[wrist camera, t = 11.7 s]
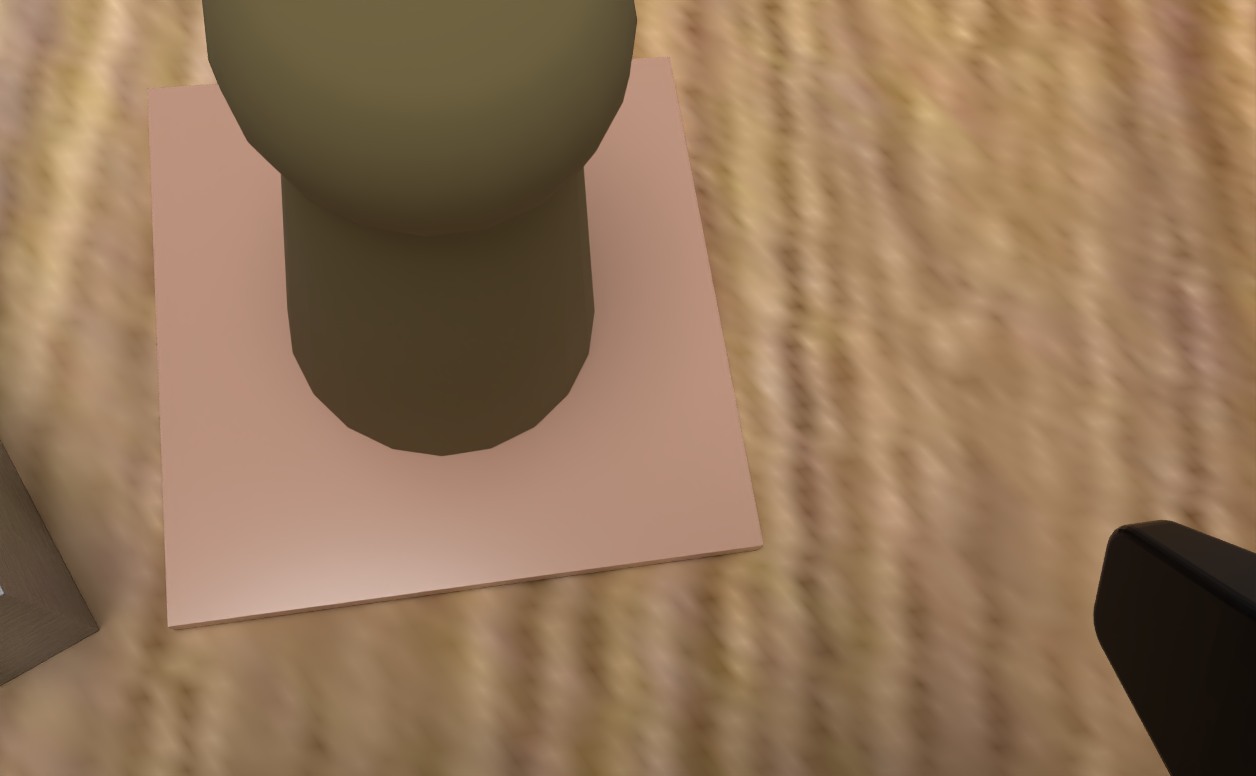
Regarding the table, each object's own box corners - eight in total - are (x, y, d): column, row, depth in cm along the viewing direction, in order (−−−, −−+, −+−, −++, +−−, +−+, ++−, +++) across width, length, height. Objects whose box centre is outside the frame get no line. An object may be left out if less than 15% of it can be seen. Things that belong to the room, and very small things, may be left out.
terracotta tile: (757, 549, 23) (763, 545, 22) (174, 630, 21) (167, 626, 20) (665, 69, 26) (669, 57, 26) (153, 101, 24) (147, 88, 24)
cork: (599, 455, 22) (708, 179, 12) (278, 457, 22) (101, 163, 11) (590, 177, 24) (676, -267, 14) (294, 170, 23) (155, -307, 13)
